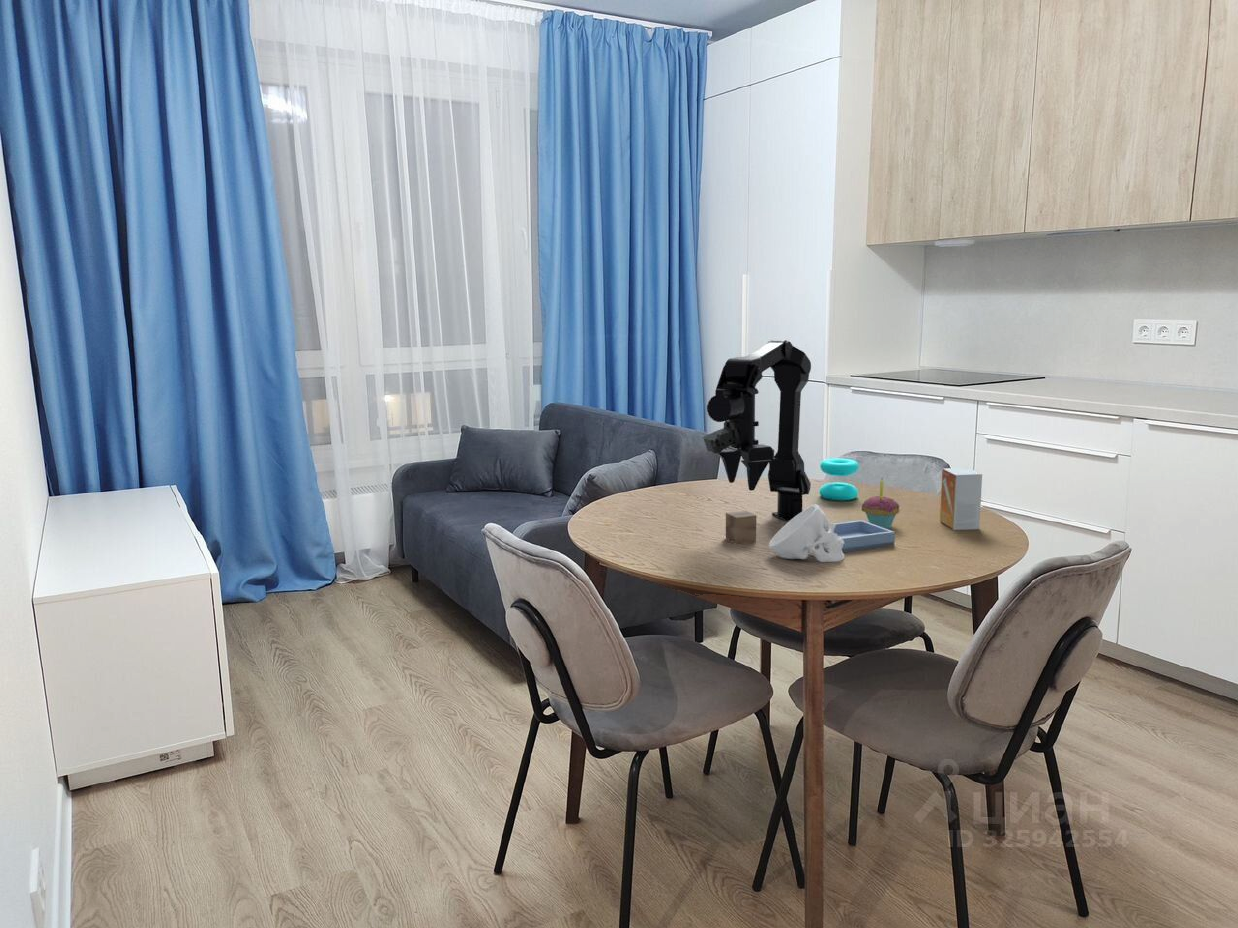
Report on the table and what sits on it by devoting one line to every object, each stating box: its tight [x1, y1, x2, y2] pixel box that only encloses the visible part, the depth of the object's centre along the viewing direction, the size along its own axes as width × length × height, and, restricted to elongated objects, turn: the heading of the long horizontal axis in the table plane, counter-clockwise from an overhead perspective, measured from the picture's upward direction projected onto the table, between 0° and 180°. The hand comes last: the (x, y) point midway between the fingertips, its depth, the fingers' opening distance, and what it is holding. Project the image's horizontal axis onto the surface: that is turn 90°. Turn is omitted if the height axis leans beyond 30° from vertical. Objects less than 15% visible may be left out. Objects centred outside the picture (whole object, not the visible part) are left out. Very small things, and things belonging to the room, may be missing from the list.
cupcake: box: [861, 477, 900, 530], centre depth 211 cm, size 9×8×12 cm
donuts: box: [819, 457, 860, 502], centre depth 242 cm, size 10×10×10 cm
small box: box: [939, 467, 983, 531], centre depth 211 cm, size 8×6×13 cm
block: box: [725, 510, 757, 545], centre depth 203 cm, size 5×5×6 cm
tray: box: [833, 519, 896, 553], centre depth 199 cm, size 12×14×3 cm
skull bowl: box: [768, 503, 845, 563], centre depth 188 cm, size 10×14×12 cm
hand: (741, 486), depth 201 cm, fingers open, 9 cm apart
